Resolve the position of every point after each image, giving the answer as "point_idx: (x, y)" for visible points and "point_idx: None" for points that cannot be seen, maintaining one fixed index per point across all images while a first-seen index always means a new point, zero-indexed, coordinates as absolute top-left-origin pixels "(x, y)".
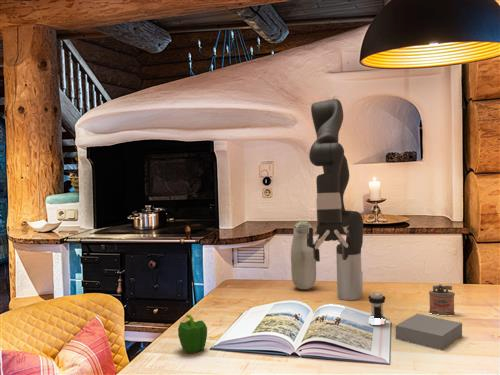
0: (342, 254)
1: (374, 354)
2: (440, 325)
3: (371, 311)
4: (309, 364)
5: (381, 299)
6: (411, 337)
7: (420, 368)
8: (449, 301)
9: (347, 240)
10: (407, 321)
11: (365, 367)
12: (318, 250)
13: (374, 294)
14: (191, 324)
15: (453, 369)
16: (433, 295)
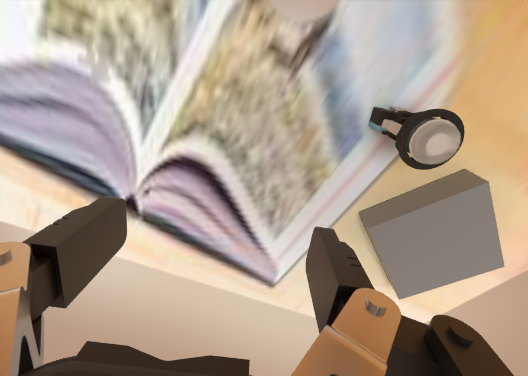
0: (320, 254)
1: (272, 254)
2: (451, 261)
3: (390, 123)
4: (149, 248)
5: (422, 169)
6: (373, 244)
7: (305, 309)
8: None
9: (449, 371)
10: (413, 218)
11: (232, 283)
12: (63, 299)
13: (425, 146)
14: None
15: None
16: None
